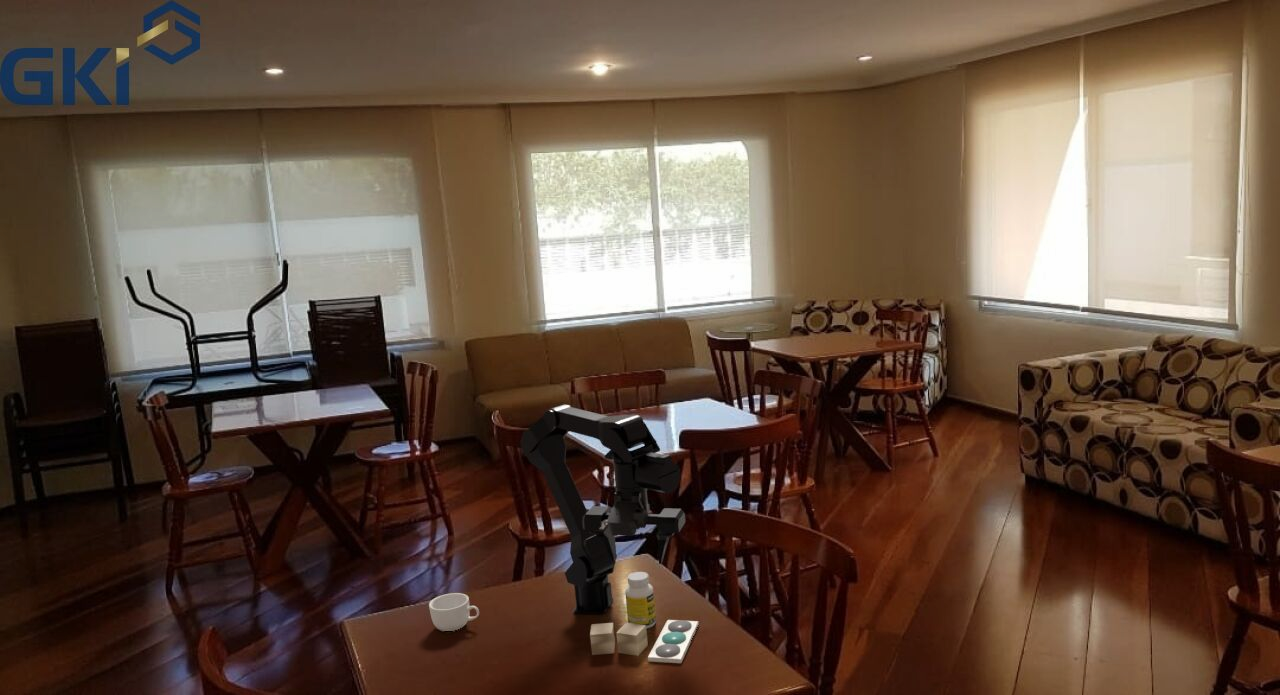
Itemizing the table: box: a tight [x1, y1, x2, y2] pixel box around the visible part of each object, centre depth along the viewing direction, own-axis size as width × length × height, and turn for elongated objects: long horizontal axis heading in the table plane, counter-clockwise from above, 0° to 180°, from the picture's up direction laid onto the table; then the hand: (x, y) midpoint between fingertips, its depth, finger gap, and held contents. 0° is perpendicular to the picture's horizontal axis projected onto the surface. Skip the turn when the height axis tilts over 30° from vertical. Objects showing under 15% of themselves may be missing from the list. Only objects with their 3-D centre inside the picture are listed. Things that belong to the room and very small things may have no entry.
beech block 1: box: [589, 622, 616, 656], centre depth 165 cm, size 4×4×4 cm
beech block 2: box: [615, 621, 649, 657], centre depth 164 cm, size 4×4×4 cm
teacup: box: [428, 592, 480, 632], centre depth 179 cm, size 10×8×5 cm
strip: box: [647, 619, 699, 664], centre depth 165 cm, size 6×14×1 cm, turn 163°
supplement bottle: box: [624, 571, 657, 630], centre depth 173 cm, size 5×5×10 cm
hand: (637, 562), depth 171 cm, fingers open, 9 cm apart
